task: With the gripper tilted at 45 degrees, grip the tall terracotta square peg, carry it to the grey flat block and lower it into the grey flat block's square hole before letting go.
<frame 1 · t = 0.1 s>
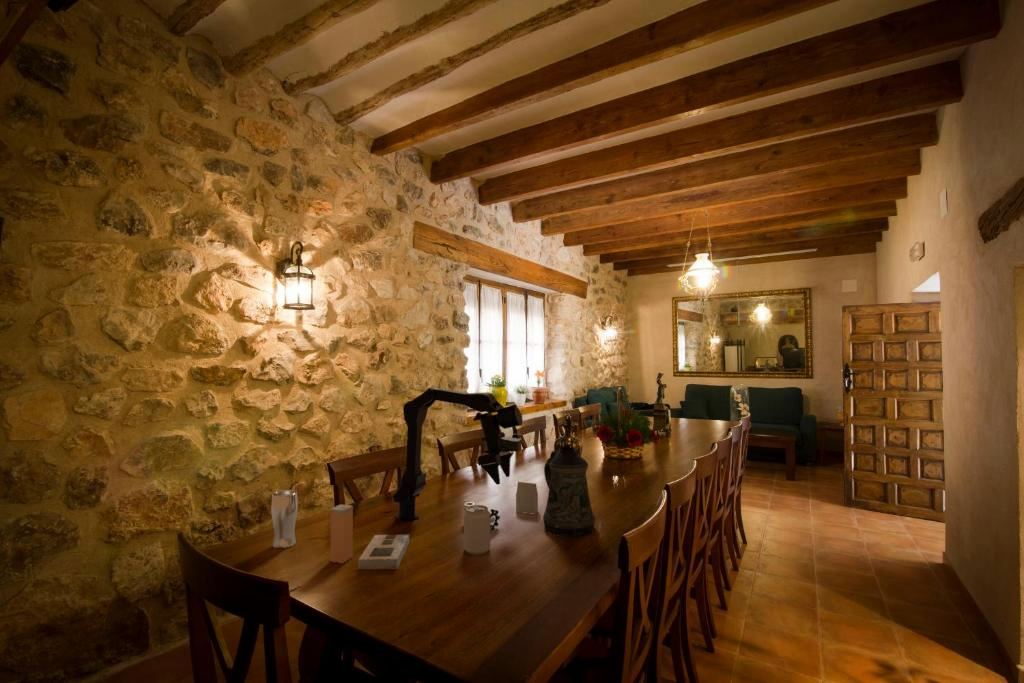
hand: (503, 480, 152), 15 cm above the table, tool pointing down, fingers open, 9 cm apart
can: (477, 551, 137), on the table
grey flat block: (382, 561, 129), on the table
square peg: (341, 559, 131), on the table
valve: (478, 527, 155), on the table
beer stein: (564, 527, 154), on the table
beer glass: (284, 545, 141), on the table
tea bag: (527, 512, 169), on the table
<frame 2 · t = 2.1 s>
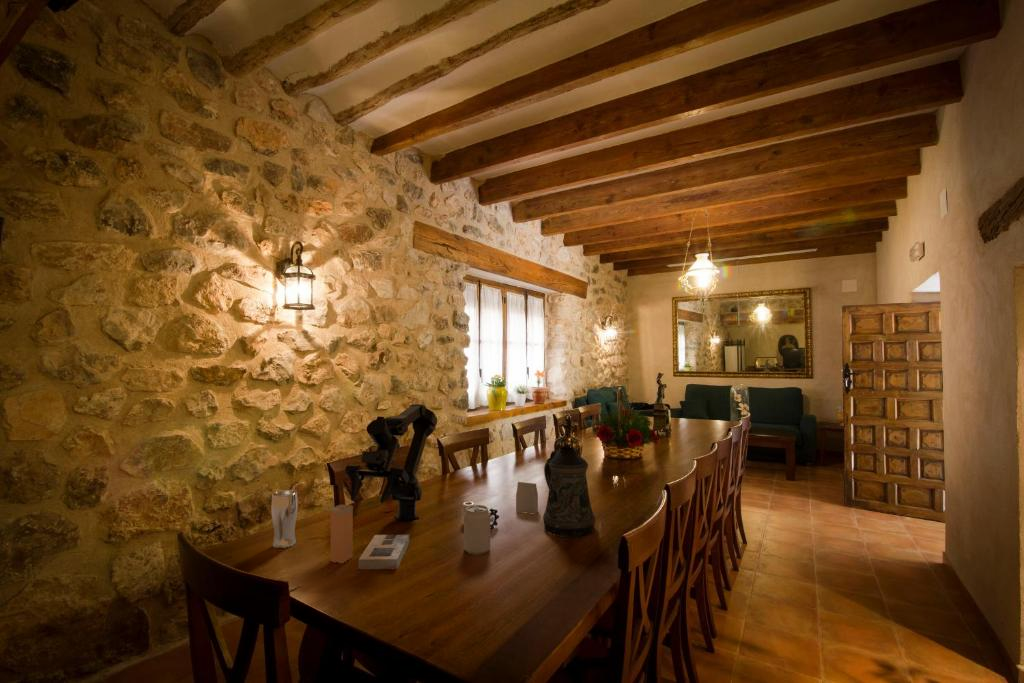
hand: (366, 501, 137), 14 cm above the table, tool tilted 45°, fingers open, 9 cm apart
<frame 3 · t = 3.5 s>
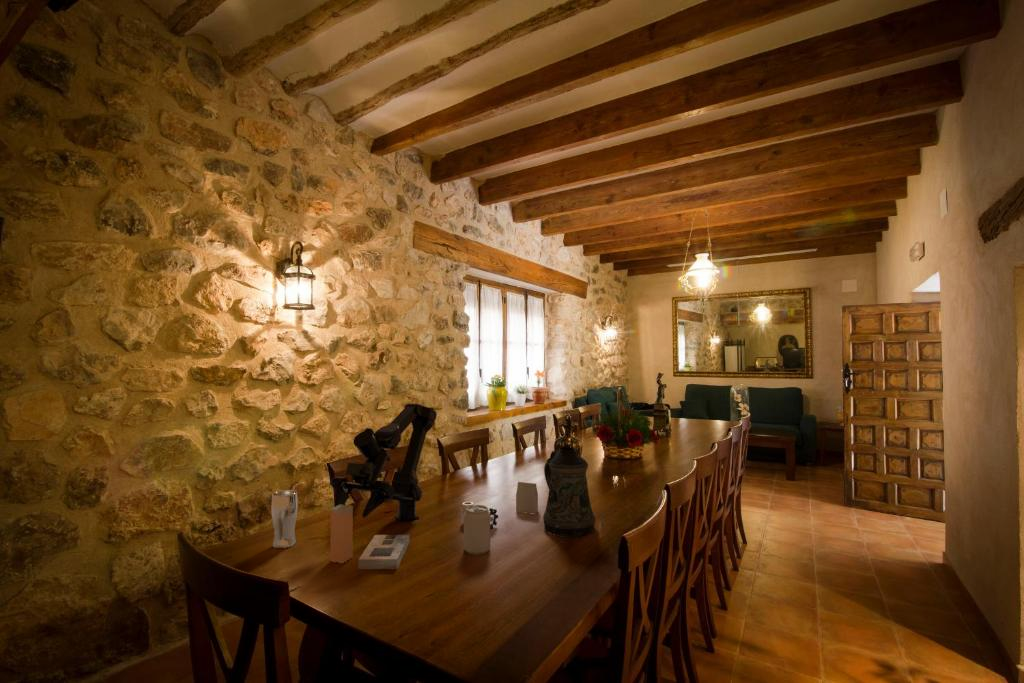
hand: (349, 515, 134), 11 cm above the table, tool tilted 45°, fingers open, 9 cm apart
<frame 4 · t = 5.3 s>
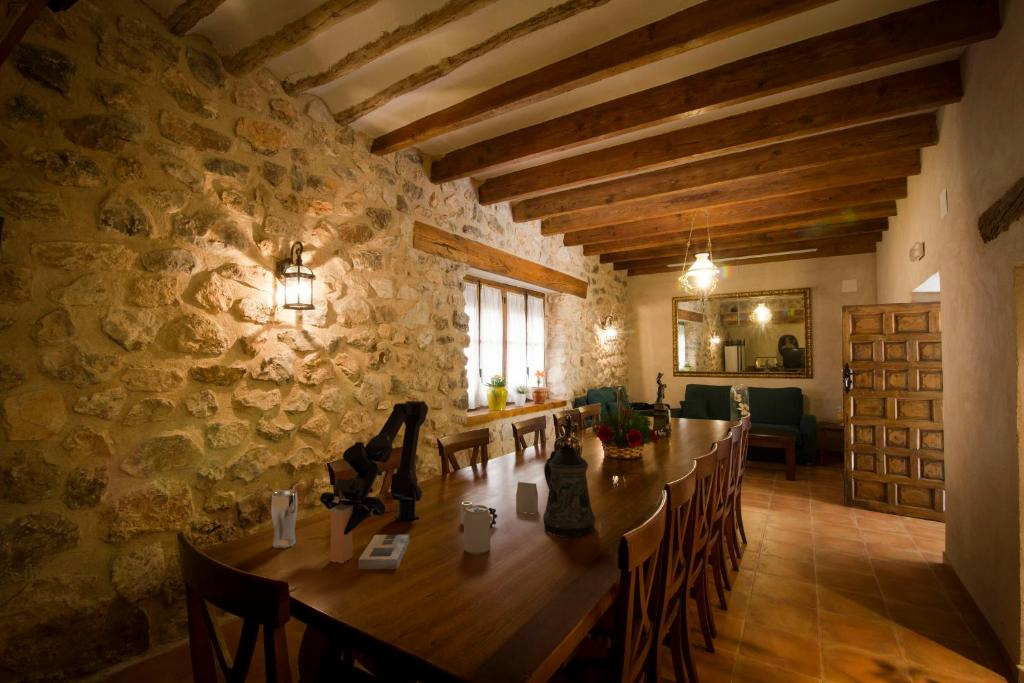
hand: (338, 533, 129), 8 cm above the table, tool tilted 45°, fingers closed on square peg, 4 cm apart
square peg: (341, 559, 131), on the table, touching gripper
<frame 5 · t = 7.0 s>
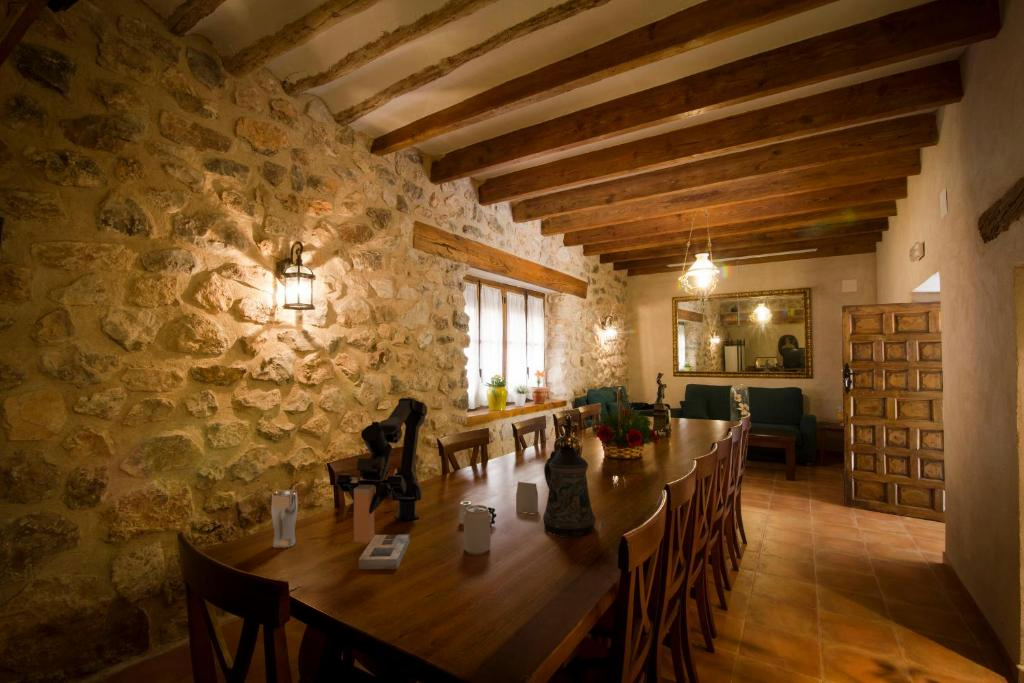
hand: (362, 512, 128), 13 cm above the table, tool tilted 45°, fingers closed on square peg, 4 cm apart
square peg: (364, 539, 130), point 6 cm above the table, touching gripper
when the fingers open (8 cm above the table, at t = 8.9 s): square peg stays where it is, resting in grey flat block.
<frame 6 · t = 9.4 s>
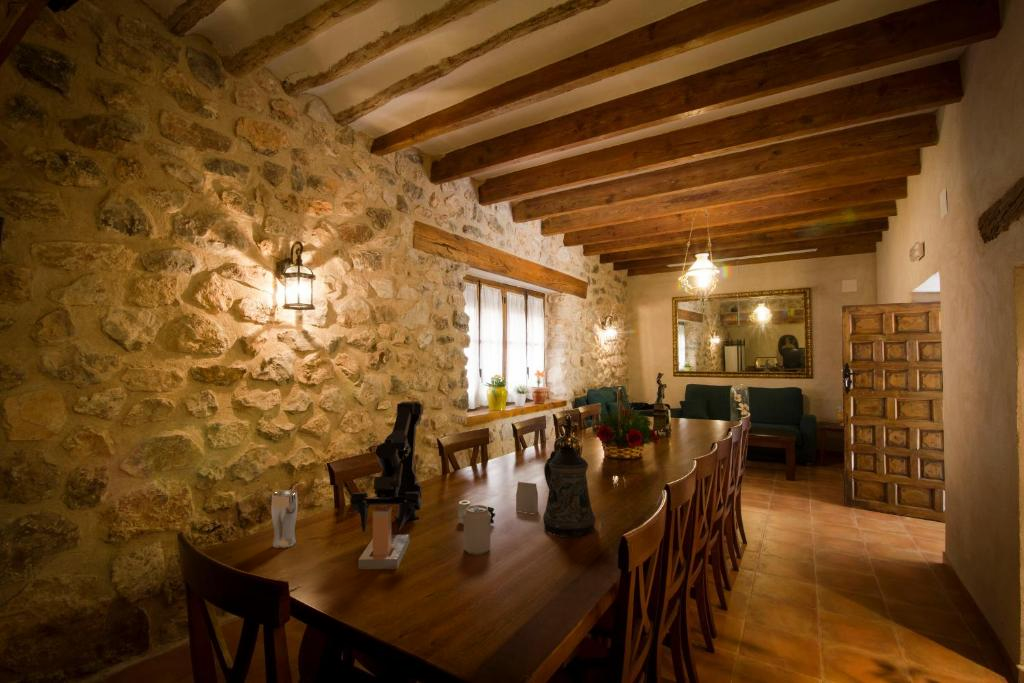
hand: (380, 531, 128), 9 cm above the table, tool tilted 45°, fingers open, 9 cm apart
square peg: (382, 561, 129), resting in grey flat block
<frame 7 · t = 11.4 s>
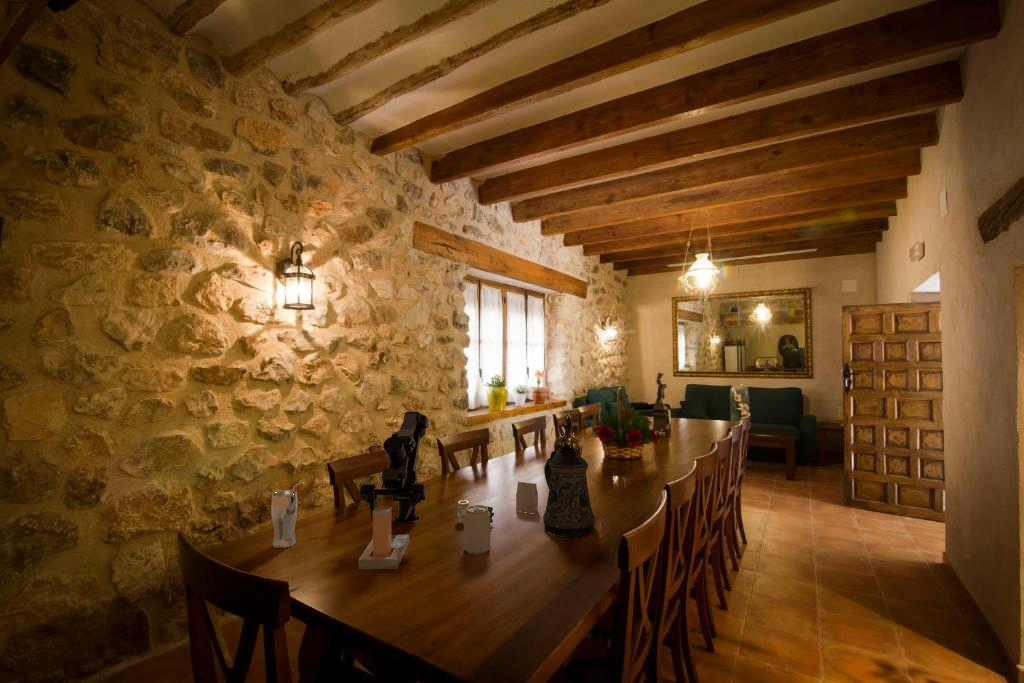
hand: (388, 519, 137), 9 cm above the table, tool tilted 45°, fingers open, 9 cm apart
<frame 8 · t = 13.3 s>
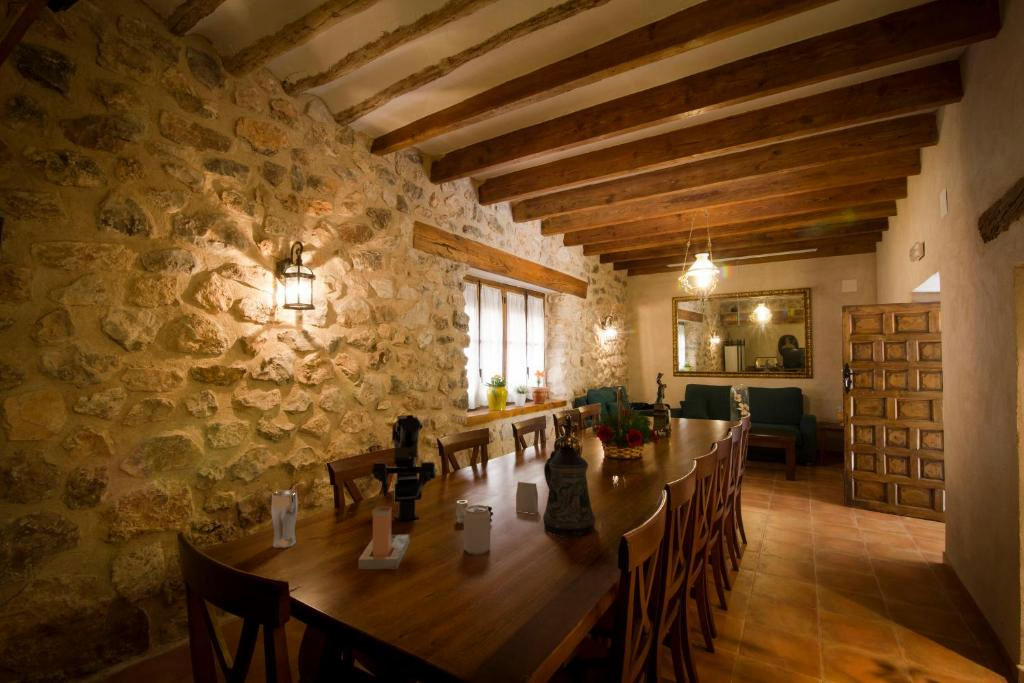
hand: (400, 496, 142), 14 cm above the table, tool tilted 45°, fingers open, 9 cm apart
at the end: square peg 0.0 cm off-centre on the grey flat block, point 0.0 cm above the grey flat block's base; square peg tilted 0°; the gripper is holding nothing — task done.
